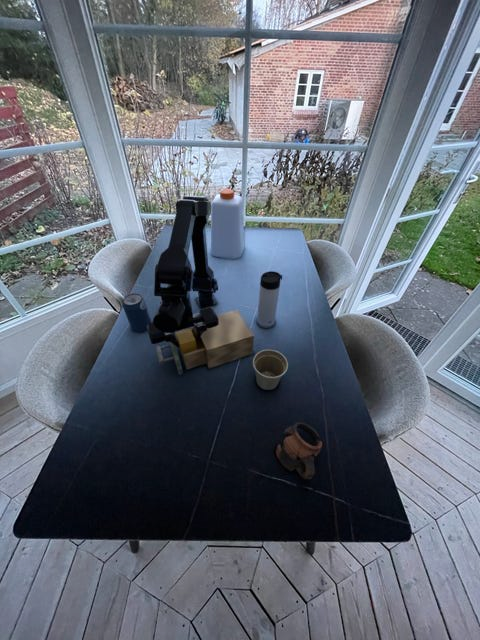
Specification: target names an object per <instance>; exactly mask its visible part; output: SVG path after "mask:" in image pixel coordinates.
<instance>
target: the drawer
mask: <svg viewBox="0 0 480 640" xmlns="http://www.w3.org/2000/svg"><path fill="white" fill-rule="evenodd" d="M188 330H192V333H193V327H190V328H186V329H183V330H179V331H176V332H174V333H175V335H176V334H177V333H181V332H184V331H188ZM176 338H177V336H176ZM196 347H197V350H196V351H192V352H189V353H186V354H183V355H182V353H181V350H180V348H178V349H177V346H175V345H174V344H173V343H171V342H168V344H166V345H162V346H161V345H157V346H155V352H156V356H157V361H158V364H159V365H161V366H162V365H164V364H165V363H166V362H170V361H174V364H175V367H176V370H177V373H178V376H180V375H183V374H184V371H183V367H182V363H181V359H180V356H179V353H178V350H179V352H180V355H181V358H182V361H183V364H184V366H185V369H186V370H190V369H193V368H196V367H199V366H202V365H205V364H206V365H207V363H208V362H207V353H206V349H205V346H204V344H203V342H202V340H201V337H200V338H199V339H198V341H197V343H196ZM168 348H169V349H170V352H171V354H172V356H170V357H167V358H164V354H163V351H162V350H165V349H168Z"/></svg>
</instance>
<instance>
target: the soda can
mask: <svg viewBox="0 0 480 640" xmlns="http://www.w3.org/2000/svg"><path fill="white" fill-rule="evenodd" d="M122 309H123V311H124V313H125V317H126V319H127V321H128V324H129V327H130V328H131V329H132V330H134V331H135V332H145V331H147V325H148V324H149V323H152V319H151V316H150V312H149V309H148V306H147V302H146V299H145V298H144V297H143V296H142V295H141V294H140V293H130V294H127V295H126V296H124V298H123V300H122Z"/></svg>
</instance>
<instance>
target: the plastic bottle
mask: <svg viewBox="0 0 480 640" xmlns="http://www.w3.org/2000/svg"><path fill="white" fill-rule="evenodd" d="M244 224H245V223H244V202H243V197H242V196H241V195H237V194H235V191H234V189H230V188H224V189H220V191H219V194H216V196H215V197H214V198H213V199H212V200H211V214H210V254H211V255H212V256H213V257H216V258H221V259H222V258H223V259H228V260H229V259H231V260H235V259H239V258H241V257H242V255H243V252H244V250H245V225H244Z"/></svg>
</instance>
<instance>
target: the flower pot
mask: <svg viewBox="0 0 480 640" xmlns="http://www.w3.org/2000/svg"><path fill="white" fill-rule="evenodd" d="M252 366H253V369H254V370H255V377H256V379H255V380H256V384H257V385H258V387H259V388H261V389H262V390H264V391H265V390H267V391H269V390H270V391H272V390H274V389H275V388H277V386H278V385H279V383H280V380H281V379H282V377H283V376H284V375H286V373H287V371H288V369H289V368H288V367H289V362H288V360H287V357H286V356H285V355H284V354H283V353H281V352H280V351H278V350H274V349H262V350H260V351H258V352H257V353H256V354H255V355H254V356H253V359H252Z"/></svg>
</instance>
